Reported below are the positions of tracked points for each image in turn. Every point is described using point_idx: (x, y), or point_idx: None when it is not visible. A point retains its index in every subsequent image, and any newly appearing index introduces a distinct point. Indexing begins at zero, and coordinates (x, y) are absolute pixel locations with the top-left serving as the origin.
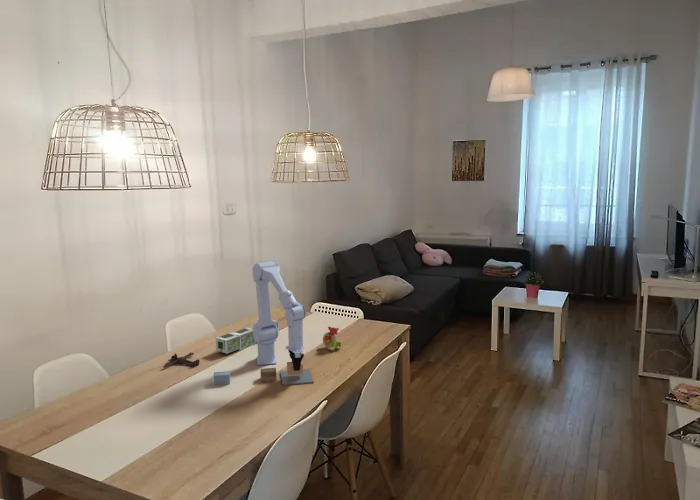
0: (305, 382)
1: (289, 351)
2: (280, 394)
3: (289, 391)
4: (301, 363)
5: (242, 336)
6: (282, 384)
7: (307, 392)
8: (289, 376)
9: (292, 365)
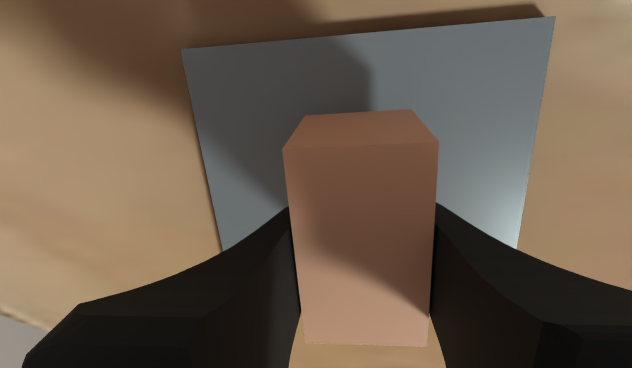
0: (223, 249)
1: (537, 338)
2: (3, 29)
3: (76, 112)
4: (329, 332)
5: None
6: (200, 47)
7: (80, 241)
8: None
9: (292, 217)
